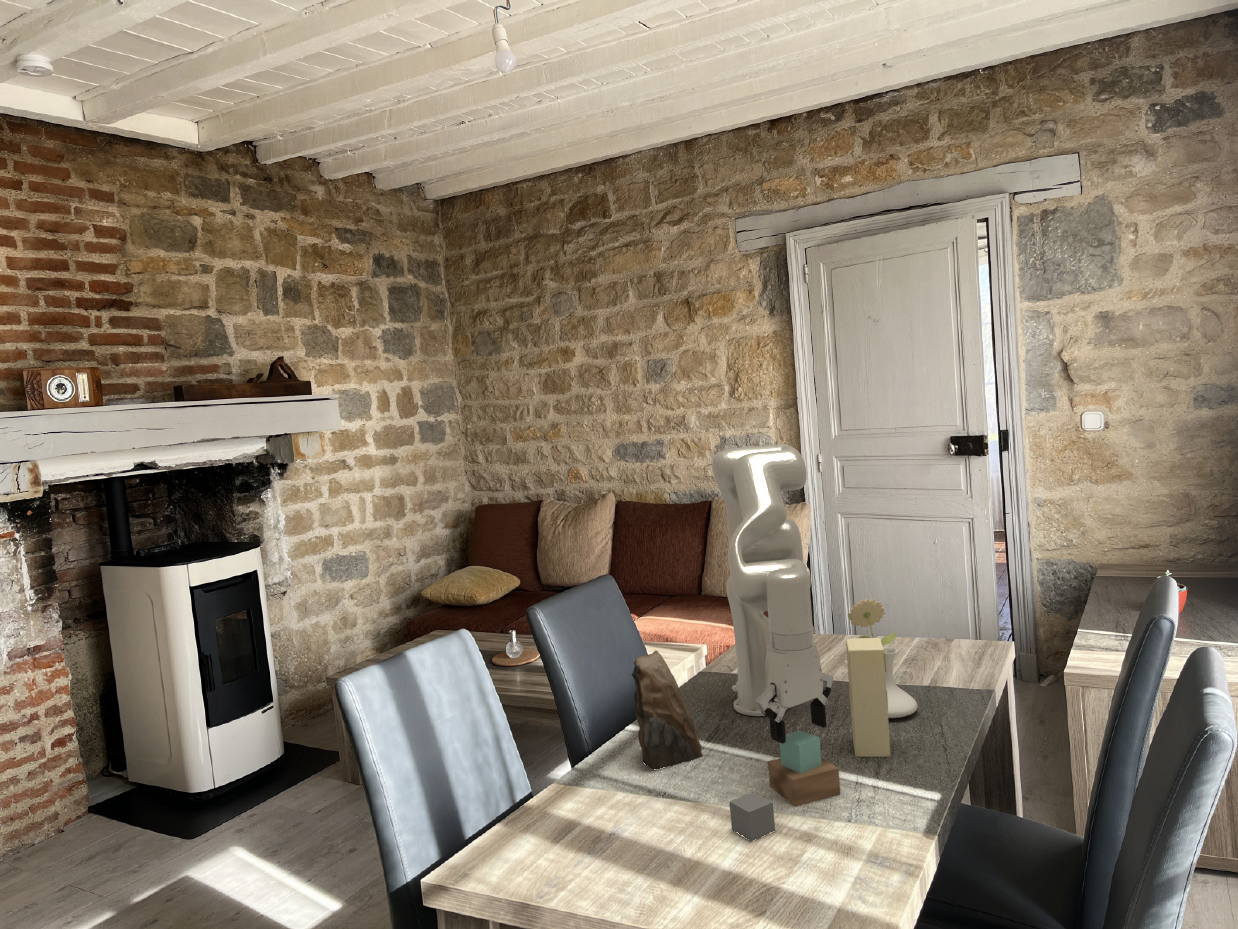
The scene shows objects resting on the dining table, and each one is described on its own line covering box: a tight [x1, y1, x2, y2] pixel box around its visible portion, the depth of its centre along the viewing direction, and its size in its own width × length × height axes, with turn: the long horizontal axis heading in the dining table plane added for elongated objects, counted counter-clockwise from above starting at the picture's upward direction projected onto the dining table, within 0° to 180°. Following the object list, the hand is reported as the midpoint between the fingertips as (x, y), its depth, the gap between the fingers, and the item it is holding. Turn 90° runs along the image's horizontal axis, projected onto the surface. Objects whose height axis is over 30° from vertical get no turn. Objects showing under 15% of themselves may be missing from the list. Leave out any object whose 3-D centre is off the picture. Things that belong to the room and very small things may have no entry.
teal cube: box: [778, 729, 822, 773], centre depth 155 cm, size 5×5×5 cm
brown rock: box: [631, 650, 704, 771], centre depth 177 cm, size 13×13×20 cm
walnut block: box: [767, 756, 841, 808], centre depth 156 cm, size 9×9×5 cm
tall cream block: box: [845, 637, 891, 758], centre depth 170 cm, size 8×7×21 cm
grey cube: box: [728, 791, 776, 842], centre depth 143 cm, size 5×5×5 cm
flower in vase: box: [847, 598, 919, 719], centre depth 187 cm, size 13×11×25 cm
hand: (799, 733), depth 156 cm, fingers open, 9 cm apart
